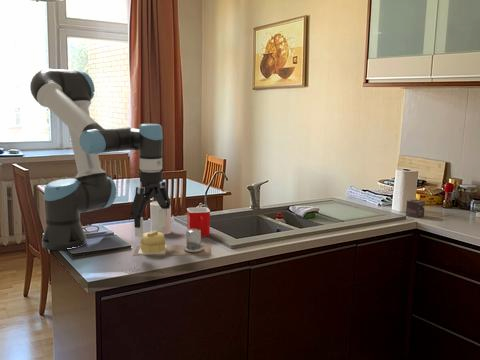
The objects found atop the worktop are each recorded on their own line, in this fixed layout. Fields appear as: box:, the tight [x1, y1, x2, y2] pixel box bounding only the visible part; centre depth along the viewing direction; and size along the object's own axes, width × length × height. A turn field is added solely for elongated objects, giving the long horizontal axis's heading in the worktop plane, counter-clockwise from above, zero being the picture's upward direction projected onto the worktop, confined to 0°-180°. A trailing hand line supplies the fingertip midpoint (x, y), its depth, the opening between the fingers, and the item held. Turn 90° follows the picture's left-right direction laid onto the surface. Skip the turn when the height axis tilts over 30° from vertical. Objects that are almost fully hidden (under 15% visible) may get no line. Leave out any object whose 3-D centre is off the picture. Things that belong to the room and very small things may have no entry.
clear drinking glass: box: [183, 229, 204, 253], centre depth 164 cm, size 7×7×7 cm
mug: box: [149, 200, 173, 235], centre depth 188 cm, size 12×8×12 cm
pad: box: [138, 244, 168, 255], centre depth 164 cm, size 9×9×1 cm
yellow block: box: [139, 231, 166, 253], centre depth 163 cm, size 8×8×6 cm
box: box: [405, 198, 426, 219], centre depth 221 cm, size 6×6×7 cm
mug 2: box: [186, 206, 211, 237], centre depth 182 cm, size 12×8×11 cm
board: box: [132, 244, 212, 257], centre depth 165 cm, size 26×11×1 cm, turn 95°
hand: (151, 231), depth 163 cm, fingers open, 13 cm apart
